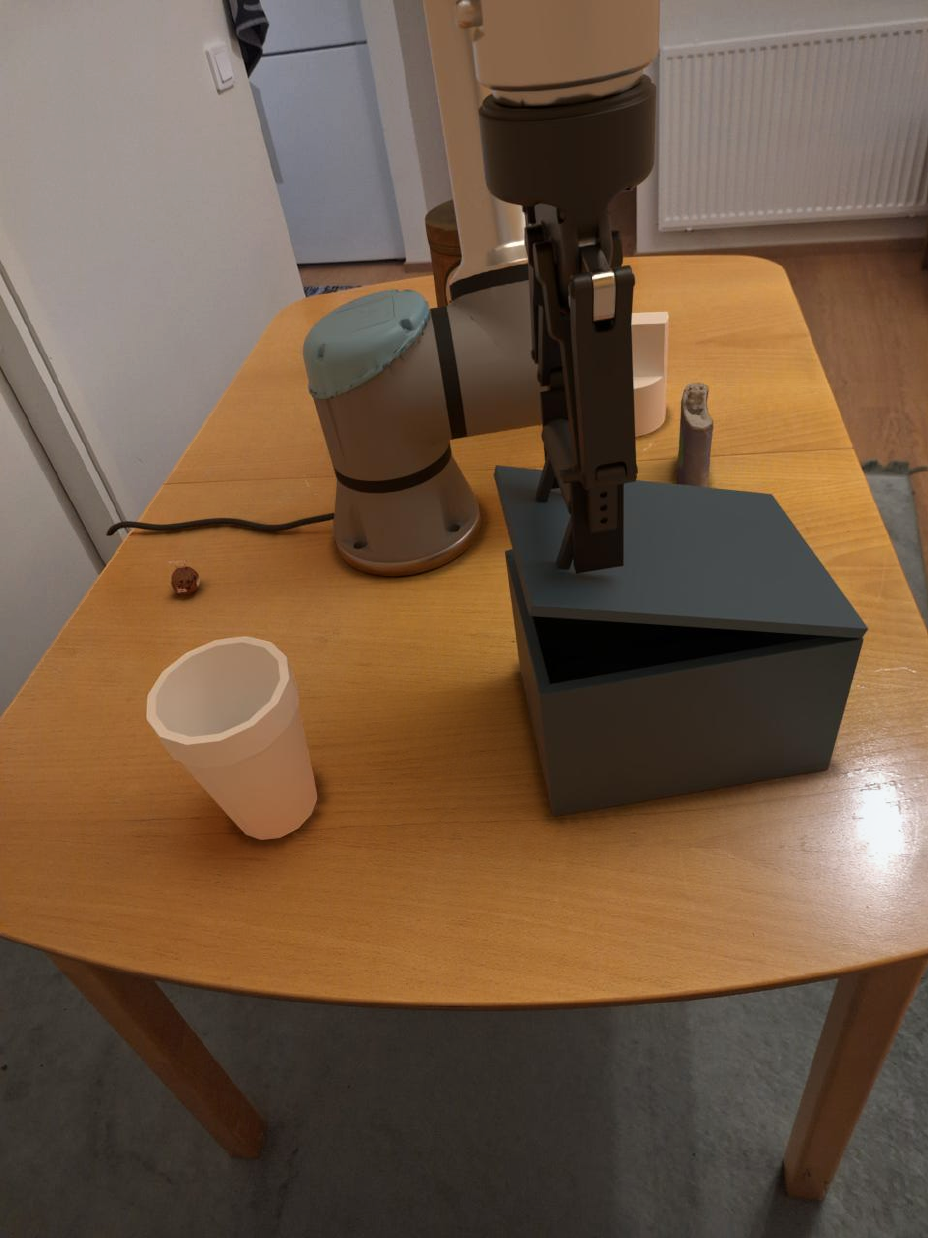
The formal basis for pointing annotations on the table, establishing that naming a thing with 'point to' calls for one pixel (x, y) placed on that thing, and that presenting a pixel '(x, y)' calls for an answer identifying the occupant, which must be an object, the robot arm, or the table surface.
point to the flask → (694, 437)
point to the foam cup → (238, 732)
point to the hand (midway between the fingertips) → (582, 521)
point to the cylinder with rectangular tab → (649, 369)
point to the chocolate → (184, 579)
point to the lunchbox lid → (671, 556)
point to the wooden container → (443, 248)
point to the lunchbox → (674, 705)
